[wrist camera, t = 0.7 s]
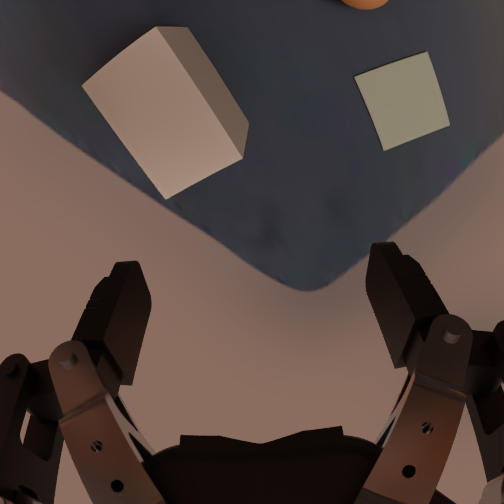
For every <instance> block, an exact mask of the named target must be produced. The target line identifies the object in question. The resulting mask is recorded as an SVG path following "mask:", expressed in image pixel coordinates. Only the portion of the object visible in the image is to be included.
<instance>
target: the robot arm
mask: <svg viewBox="0 0 504 504" xmlns="http://www.w3.org/2000/svg"><path fill="white" fill-rule="evenodd" d="M366 292H367V295H368V298H369V300H370V303H371V305H372V308H373V310H374V313H375V316H376V318H377V321H378V323H379V326H380V329H381V331H382V334H383V337H384V340H385V342H386V345H387V347H388V350H389V353H390V355H391V359H392V362H393V365H394V367H395V368H401V367H405V366H406V367H407V370H408V375H407V377H406V379H405V381H404V384H403V386H402V389H401V391H400V393H399V396H398V398H397V400H396V402H395V405H394V407H393V409H392V411H391V413H390V415H389V418H388V420H387V422H386V423H385V426H384V427H383V429H382V431H381V432H380V434H379V436H378V438H377V440H376V441H375V443H372V442H370V441H368V440H365V439H362V438H358V437H354V436H347V435H343V430H342V426H337V427H330V428H323V429H315V430H307V431H301V432H298V433H295V434H292V435H289V436H286V437H283V438H280V439H277V440H274V441H270V442H267V443H262V444H258V443H251V442H247V441H241V440H236V439H231V438H227V437H222V436H193V435H181V437H180V445H176V446H172V447H169V448H166V449H164V450H162V451H159V452H158V453H155V451H154V450H153V449H152V447H151V446H150V445H149V443H148V442H147V441H146V439H145V438H144V436H143V435H142V433H141V432H140V430H139V428H138V427H137V425H136V424H135V421H134V420H133V418H132V416H131V415H130V413H129V411H128V410H127V407H126V406H125V404H124V402H123V400H122V398H121V396H120V395H119V394H118V391H119V387H120V385H132V383H133V379H134V374H135V370H136V366H137V362H138V357H139V353H140V350H141V346H142V342H143V338H144V334H145V330H146V327H147V323H148V319H149V315H150V312H151V295H150V292H149V289H148V287H147V284H146V281H145V278H144V275H143V272H142V269H141V267H140V264H139V262H138V261H125V262H116V263H115V265H114V267H113V269H112V271H111V273H110V275H109V277H104V278H103V279H102V280H101V281H100V282H99V283H98V285H97V286H96V287H95V288H94V290H93V293H92V294H91V297H90V300H89V301H88V303H87V305H86V309H85V310H84V312H83V314H82V316H81V319H80V321H79V323H78V325H77V328H76V330H75V332H74V335H73V337H72V339H71V341H67V342H64V343H62V344H60V345H59V346H58V347H56V348H55V349H54V351H53V352H52V353H51V355H50V358H49V359H47V360H43V361H39V362H35V363H30V362H29V360H28V359H27V358H26V357H25V356H24V355H22V354H19V353H18V354H13V355H10V356H9V357H7V358H6V359H5V360H4V361H3V362H2V363H1V365H0V504H54V496H55V489H56V482H57V475H58V469H59V463H60V457H61V452H62V447H63V442H64V440H65V442H66V445H67V448H68V450H69V452H70V455H71V457H72V460H73V462H74V464H75V467H76V469H77V471H78V474H79V476H80V478H81V480H82V482H83V484H84V486H85V488H86V491H87V493H88V495H89V497H90V499H91V501H92V503H93V504H456V503H454V502H453V501H452V500H450V499H449V498H448V497H446V496H445V495H443V494H442V493H441V492H439V491H438V490H437V489H436V486H437V484H438V482H439V479H440V477H441V475H442V472H443V469H444V467H445V464H446V462H447V459H448V456H449V453H450V451H451V448H452V445H453V441H454V439H455V436H456V433H457V429H458V426H459V423H460V419H461V416H462V413H463V408H464V405H465V402H466V405H467V408H468V412H469V415H470V418H471V421H472V424H473V428H474V431H475V434H476V438H477V442H478V446H479V449H480V453H481V457H482V461H483V465H484V470H485V474H486V479H487V485H486V486H485V488H484V490H483V493H482V497H481V499H480V501H479V504H504V391H503V389H502V386H501V384H502V383H504V320H503V321H501V322H499V323H498V324H497V325H496V327H495V329H494V330H493V332H488V331H476V330H472V329H471V328H470V326H469V325H468V323H467V322H466V321H465V320H463V319H462V318H460V317H458V316H456V315H452V314H449V312H448V311H447V309H446V307H445V305H444V304H443V302H442V300H441V298H440V297H439V295H438V293H437V292H436V290H435V288H434V287H433V285H432V284H431V283H430V280H429V279H428V277H427V276H426V275H425V272H424V271H423V269H422V267H421V266H420V264H419V263H418V262H417V261H416V260H414V259H413V258H412V257H410V256H409V255H403V254H402V253H401V251H400V250H399V248H398V246H397V245H396V243H395V242H393V241H392V242H379V243H373V244H372V246H371V249H370V256H369V262H368V268H367V274H366ZM26 411H27V412H29V413H30V414H31V416H30V419H29V423H28V426H27V430H26V434H25V438H24V443H23V444H22V442H21V439H20V431H21V427H22V424H23V420H24V417H25V413H26Z"/></svg>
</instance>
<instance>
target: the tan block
mask: <svg viewBox="0 0 504 504" xmlns="http://www.w3.org/2000/svg"><path fill="white" fill-rule="evenodd" d="M82 87H83V88H84V90H85V91H86V93H87V94H88V95H89V97H90V98H91V100H92V101H93V102H94V104H95V105H96V107H97V108H98V109H99V111H100V112H101V114H102V115H103V116H104V118H105V119H106V121H107V122H108V123H109V125H110V126H111V127H112V129H113V130H114V131H115V133H116V134H117V136H118V137H119V138H120V140H121V141H122V142H123V144H124V145H125V146H126V148H127V149H128V150H129V152H130V153H131V155H132V156H133V157H134V159H135V160H136V161H137V163H138V164H139V165H140V167H141V168H142V169H143V171H144V172H145V173H146V175H147V176H148V177H149V178H150V180H151V181H152V182H153V184H154V185H155V186H156V188H157V189H158V190H159V192H160V193H161V194H162V196H163V197H164V198H165V199H168V198H169V197H171V196H173V195H175V194H176V193H178V192H180V191H182V190H184V189H186V188H187V187H189V186H191V185H193V184H195V183H197V182H198V181H200V180H202V179H204V178H206V177H208V176H210V175H212V174H213V173H215V172H217V171H219V170H221V169H223V168H225V167H227V166H229V165H231V164H233V163H235V162H237V161H239V160H241V159H243V154H244V148H245V143H246V138H247V132H248V127H249V122H248V121H247V119H246V117H245V116H244V114H243V112H242V111H241V109H240V107H239V106H238V104H237V103H236V101H235V99H234V98H233V96H232V95H231V93H230V91H229V90H228V88H227V87H226V85H225V83H224V82H223V80H222V79H221V77H220V76H219V74H218V72H217V71H216V69H215V68H214V66H213V65H212V63H211V62H210V60H209V59H208V57H207V56H206V54H205V52H204V51H203V49H202V48H201V46H200V45H199V43H198V42H197V40H196V39H195V37H194V36H193V35H192V33H191V32H190V30H189V29H188V27H154V28H153V29H151V30H150V31H149V32H147V33H146V34H144V35H143V36H142V37H140V38H139V39H138V40H136V41H135V42H134V43H132V44H131V45H130V46H128V47H127V48H126V49H124V50H123V51H122V52H121V53H119V54H118V55H117V56H116V57H114V58H113V59H112V60H111V61H109V62H108V63H107V64H106V65H105V66H103V67H102V68H101V69H100V70H99V71H98V72H96V73H95V74H94V75H93V76H92V77H91V78H90V79H89V80H87V81H86V82H85V83H84V84H83V85H82Z"/></svg>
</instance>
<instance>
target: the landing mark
mask: <svg viewBox="0 0 504 504" xmlns="http://www.w3.org/2000/svg"><path fill="white" fill-rule="evenodd" d="M354 78H355V81H356V83H357V85H358V87H359V90H360V92H361V94H362V97H363V99H364V101H365V104H366V106H367V108H368V111H369V113H370V116H371V118H372V121H373V123H374V126H375V129H376V131H377V134H378V136H379V139H380V142H381V145H382V147H383V150H384V151H385V150H387V149H390V148H392V147H395V146H397V145H400V144H402V143H405V142H408V141H410V140H413V139H415V138H418V137H420V136H423V135H426V134H428V133H431V132H433V131H436V130H439V129H441V128H444V127H446V126H449V125H450V123H449V120H448V116H447V112H446V108H445V105H444V101H443V98H442V94H441V91H440V88H439V85H438V81H437V78H436V75H435V72H434V69H433V66H432V64H431V61H430V58H429V55H428V53H427V52H423V53H420V54H417V55H414V56H411V57H408V58H405V59H402V60H399V61H396V62H393V63H390V64H387V65H384V66H381V67H379V68H376V69H373V70H371V71H368V72H365V73H363V74H360V75H357V76H355V77H354Z"/></svg>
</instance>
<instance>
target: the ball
mask: <svg viewBox="0 0 504 504" xmlns="http://www.w3.org/2000/svg"><path fill="white" fill-rule="evenodd" d="M341 1H343V2H344V3H346V4H347V5H349V6H351V7H354V8H357V9H363V10H369V9H375V8H378V7H380V6H382V5H384V4H385V3H386V2H387V1H388V0H341Z"/></svg>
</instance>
